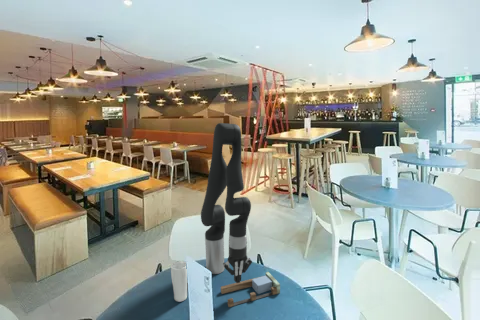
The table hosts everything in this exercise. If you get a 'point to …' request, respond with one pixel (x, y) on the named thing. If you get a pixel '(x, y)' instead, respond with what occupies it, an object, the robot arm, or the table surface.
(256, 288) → the brick
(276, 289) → the lane
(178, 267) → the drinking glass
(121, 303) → the table surface
